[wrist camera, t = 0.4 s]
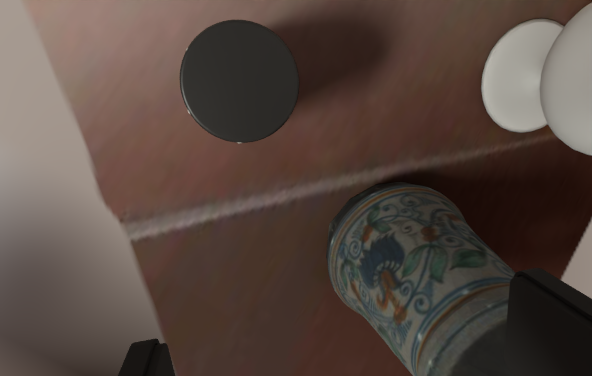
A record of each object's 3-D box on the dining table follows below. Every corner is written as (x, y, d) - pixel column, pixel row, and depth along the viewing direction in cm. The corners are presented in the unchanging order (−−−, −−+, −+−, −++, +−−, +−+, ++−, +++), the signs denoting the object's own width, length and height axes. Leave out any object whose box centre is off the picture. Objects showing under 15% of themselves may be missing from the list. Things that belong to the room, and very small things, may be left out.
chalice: (568, 140, 43) (731, 166, 29) (462, 140, 41) (582, 168, 27) (597, 13, 39) (802, -29, 25) (482, 6, 37) (634, -44, 23)
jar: (299, 74, 36) (327, 69, 25) (257, 142, 37) (265, 167, 26) (222, 19, 34) (213, -15, 22) (179, 94, 35) (150, 98, 24)
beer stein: (352, 159, 40) (522, 269, 16) (493, 206, 44) (791, 348, 20) (302, 287, 43) (380, 536, 19) (437, 319, 47) (636, 553, 24)
